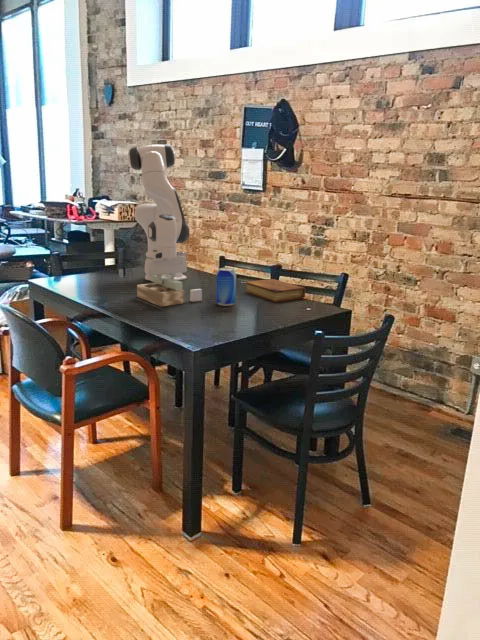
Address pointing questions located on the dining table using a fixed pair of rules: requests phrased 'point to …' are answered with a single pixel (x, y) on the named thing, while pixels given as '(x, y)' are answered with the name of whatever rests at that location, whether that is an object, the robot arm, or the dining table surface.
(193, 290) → the stand
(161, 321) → the dining table surface
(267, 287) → the diary
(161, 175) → the robot arm
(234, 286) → the beer can
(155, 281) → the grey bridge block
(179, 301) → the wooden compartment box
